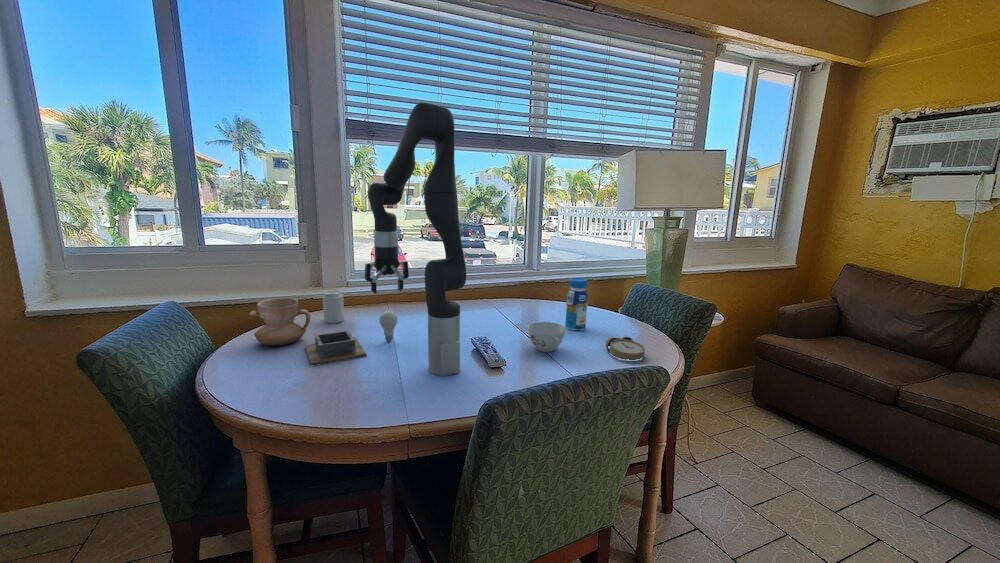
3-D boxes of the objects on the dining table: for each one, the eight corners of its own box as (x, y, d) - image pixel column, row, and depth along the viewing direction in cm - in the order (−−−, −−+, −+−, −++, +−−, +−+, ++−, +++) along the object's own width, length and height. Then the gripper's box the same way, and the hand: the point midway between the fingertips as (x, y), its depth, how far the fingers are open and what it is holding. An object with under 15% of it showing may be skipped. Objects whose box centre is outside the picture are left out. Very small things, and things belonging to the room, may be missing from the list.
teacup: (521, 344, 142) (522, 322, 140) (553, 341, 146) (554, 320, 144) (539, 360, 128) (540, 337, 126) (574, 356, 132) (575, 333, 130)
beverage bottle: (564, 323, 166) (567, 276, 162) (585, 325, 165) (588, 277, 160) (564, 330, 158) (568, 280, 153) (586, 332, 156) (590, 282, 152)
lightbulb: (400, 338, 143) (399, 309, 141) (394, 345, 137) (393, 314, 135) (384, 337, 144) (383, 308, 142) (377, 343, 138) (376, 313, 136)
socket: (366, 356, 127) (365, 341, 126) (311, 366, 119) (310, 350, 118) (355, 340, 141) (355, 326, 140) (305, 348, 132) (304, 333, 131)
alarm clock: (620, 355, 127) (600, 332, 141) (617, 368, 129) (598, 344, 142) (652, 353, 129) (629, 330, 143) (649, 366, 131) (627, 342, 145)
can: (320, 323, 158) (318, 293, 155) (331, 317, 165) (329, 289, 162) (337, 324, 157) (336, 294, 154) (348, 319, 164) (346, 290, 161)
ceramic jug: (246, 351, 128) (243, 309, 125) (258, 335, 142) (255, 297, 139) (308, 347, 134) (306, 306, 131) (313, 333, 147) (312, 295, 144)
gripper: (367, 246, 127) (368, 296, 130) (410, 245, 134) (411, 292, 137) (361, 244, 133) (363, 291, 136) (403, 242, 140) (404, 287, 144)
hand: (387, 291), depth 137 cm, fingers open, 8 cm apart
